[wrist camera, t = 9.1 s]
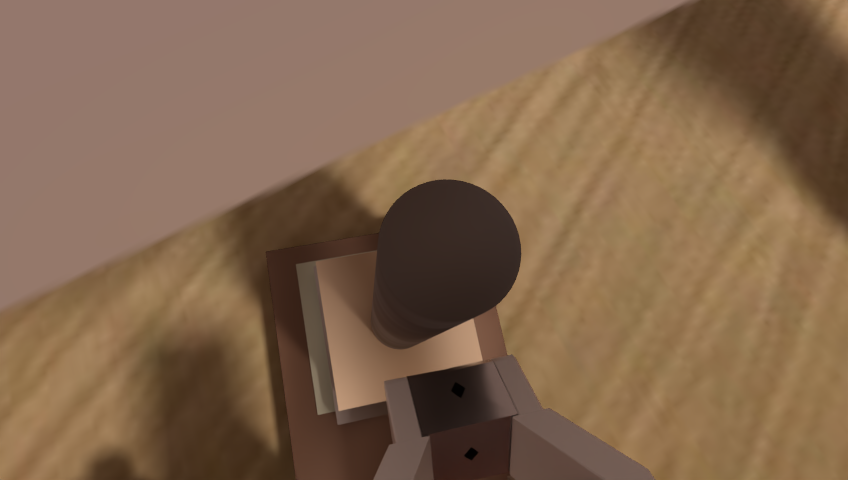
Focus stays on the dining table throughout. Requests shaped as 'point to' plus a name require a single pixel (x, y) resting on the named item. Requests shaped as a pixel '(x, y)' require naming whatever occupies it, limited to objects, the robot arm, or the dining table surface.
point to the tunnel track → (309, 371)
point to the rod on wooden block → (415, 292)
